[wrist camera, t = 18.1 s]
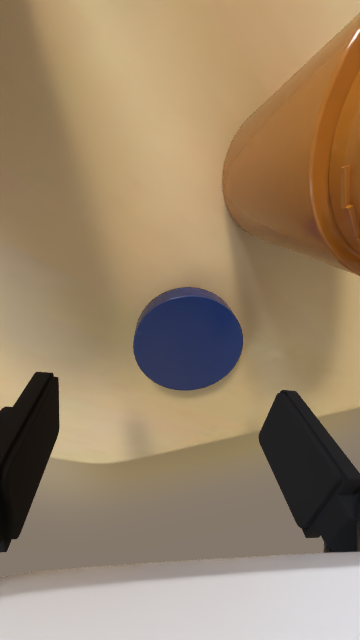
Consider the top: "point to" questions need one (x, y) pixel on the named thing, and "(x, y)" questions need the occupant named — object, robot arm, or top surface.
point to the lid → (187, 339)
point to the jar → (304, 159)
